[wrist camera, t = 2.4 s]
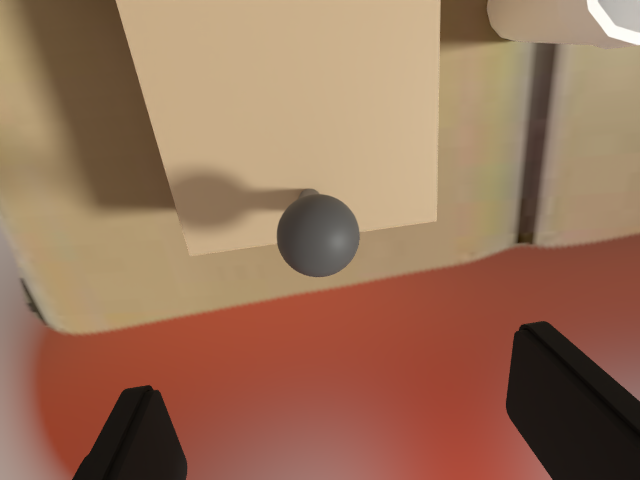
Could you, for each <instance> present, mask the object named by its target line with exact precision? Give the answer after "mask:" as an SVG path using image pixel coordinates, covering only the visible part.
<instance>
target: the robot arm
mask: <svg viewBox="0 0 640 480" xmlns="http://www.w3.org/2000/svg"><path fill="white" fill-rule="evenodd" d="M506 409H507V413H508V415H509V417H510V419H511V421H512V422H513V424H514V425H515V426H516V428H517V429H518V431H519V432H520V434H521V435H522V437H523V438H524V439H525V441H526V442H527V444H528V445H529V447H530V448H531V449H532V451H533V452H534V454H535V455H536V456H537V458H538V459H539V461H540V462H541V463H542V465H543V466H544V468H545V469H546V471H547V472H548V474H549V475H550V476H551V478H552V479H553V480H640V401H639V400H637V399H636V398H635V397H634V396H632V394H630V393H629V392H628V391H627V390H626V389H625V388H624V387H622V386H621V385H620V384H619V383H618V382H617V381H615V380H614V379H613V378H612V377H611V376H610V375H608V374H607V373H606V372H605V371H604V370H603V369H601V368H600V367H599V366H598V365H597V364H596V363H595V362H593V361H592V360H591V359H590V358H589V357H587V356H586V355H585V354H584V353H583V352H582V351H581V350H580V349H578V348H577V347H576V346H575V345H574V344H573V343H571V342H570V341H569V340H568V339H567V338H566V337H564V336H563V335H562V334H561V333H560V332H558V331H557V330H556V329H555V328H554V327H553V326H552V325H551V324H549V323H548V322H545V321H541V322H536V323H529V324H524V325H521V327H520V328H519V331H516V333H515V334H514V341H513V349H512V358H511V366H510V374H509V383H508V391H507V399H506ZM186 476H187V461H186V458H185V455H184V453H183V450H182V448H181V445H180V442H179V440H178V437H177V435H176V432H175V429H174V427H173V424H172V422H171V419H170V416H169V414H168V411H167V409H166V406H165V404H164V401H163V398H162V396H161V393H160V392H159V391H158V390H153V388H152V387H151V386H150V385H147V386H140V387H134V388H128V389H125V390H124V391H123V392H122V393H121V395H120V397H119V399H118V400H117V402H116V404H115V406H114V408H113V410H112V412H111V414H110V416H109V417H108V420H107V421H106V423H105V425H104V427H103V429H102V431H101V433H100V435H99V436H98V438H97V440H96V442H95V444H94V446H93V448H92V450H91V451H90V453H89V454H88V455H87V456H86V457H85V458H84V460H83V461H82V463H81V464H80V466H79V468H78V470H77V472H76V474H75V476H74V477H73V479H72V480H186Z"/></svg>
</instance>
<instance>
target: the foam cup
mask: <svg viewBox="0 0 640 480" xmlns="http://www.w3.org/2000/svg"><path fill="white" fill-rule="evenodd" d="M487 13H488V17H489V21H490V25H491V27H492V28H493V29H494V30H495V31H496V32H497V34H498V35H499V36H500V37H501V38H505V39H508V40H512V41H518V42H537V43H559V44H580V45H593V46H597V47H600V48H604V49H611V48H620V47H628V46H636V45H640V0H488V3H487Z"/></svg>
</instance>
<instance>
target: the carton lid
mask: <svg viewBox="0 0 640 480" xmlns="http://www.w3.org/2000/svg"><path fill="white" fill-rule="evenodd" d="M440 2H441V0H116V3H117V7H118V10H119V14H120V17H121V21H122V24H123V28H124V31H125V34H126V38H127V41H128V45H129V48H130V52H131V55H132V59H133V62H134V65H135V69H136V72H137V76H138V79H139V83H140V86H141V90H142V93H143V96H144V100H145V103H146V107H147V110H148V114H149V117H150V121H151V124H152V127H153V131H154V134H155V138H156V141H157V145H158V148H159V152H160V155H161V158H162V162H163V165H164V169H165V172H166V176H167V179H168V183H169V186H170V190H171V193H172V196H173V200H174V203H175V207H176V210H177V214H178V217H179V221H180V224H181V227H182V231H183V234H184V238H185V241H186V245H187V248H188V252H189V255H190V256H195V255H202V254H209V253H216V252H223V251H230V250H237V249H244V248H251V247H258V246H265V245H272V244H278V248H279V251H280V253H281V255H282V257H283V258H284V260H285V261H286V262H287V264H288V265H290V266H291V267H292V268H293V269H294V270H296V271H297V272H299V273H301V274H304V275H307V276H311V277H325V276H329V275H333V274H335V273H337V272H339V271H340V270H342V269H343V268H345V267H346V266H347V265H348V264H349V263H350V261H351V260H352V259H353V257H354V256H355V253H356V251H357V249H358V245H359V238H360V235H359V232H364V231H371V230H378V229H385V228H392V227H399V226H406V225H413V224H420V223H427V222H434V221H437V175H438V117H439V60H440Z"/></svg>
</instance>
